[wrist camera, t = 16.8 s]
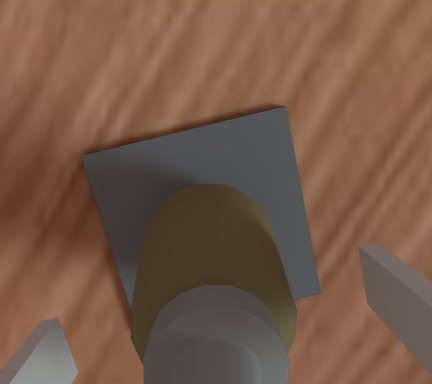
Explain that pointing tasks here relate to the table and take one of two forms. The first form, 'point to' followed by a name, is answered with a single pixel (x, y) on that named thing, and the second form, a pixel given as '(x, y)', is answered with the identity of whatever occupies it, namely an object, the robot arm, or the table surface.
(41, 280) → the table surface
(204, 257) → the squeeze bottle
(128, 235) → the mat
